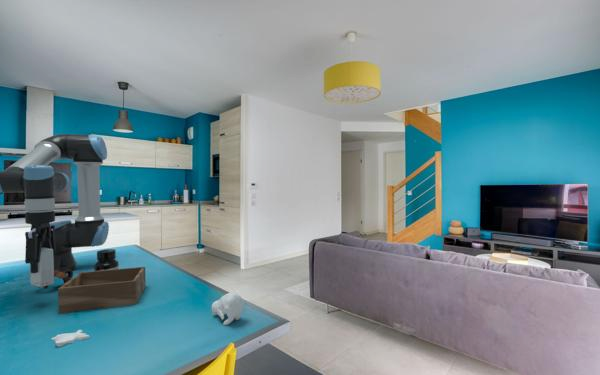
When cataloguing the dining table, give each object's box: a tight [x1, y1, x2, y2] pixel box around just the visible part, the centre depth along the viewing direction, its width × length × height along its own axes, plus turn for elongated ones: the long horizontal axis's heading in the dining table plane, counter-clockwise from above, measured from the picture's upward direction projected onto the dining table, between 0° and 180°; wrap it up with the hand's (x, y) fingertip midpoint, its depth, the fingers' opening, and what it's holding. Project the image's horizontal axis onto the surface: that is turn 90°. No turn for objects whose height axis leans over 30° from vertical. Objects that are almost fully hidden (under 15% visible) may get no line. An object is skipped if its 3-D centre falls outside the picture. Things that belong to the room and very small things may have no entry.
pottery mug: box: [37, 269, 74, 289], centre depth 117 cm, size 12×10×8 cm
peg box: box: [57, 266, 147, 315], centre depth 105 cm, size 18×22×8 cm
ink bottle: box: [93, 248, 120, 271], centre depth 128 cm, size 10×9×12 cm
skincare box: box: [30, 248, 55, 288], centre depth 99 cm, size 6×4×12 cm
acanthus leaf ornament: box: [50, 329, 91, 348], centre depth 78 cm, size 8×7×2 cm
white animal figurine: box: [211, 292, 245, 326], centre depth 90 cm, size 6×8×12 cm
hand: (42, 278), depth 99 cm, fingers closed on skincare box, 7 cm apart
